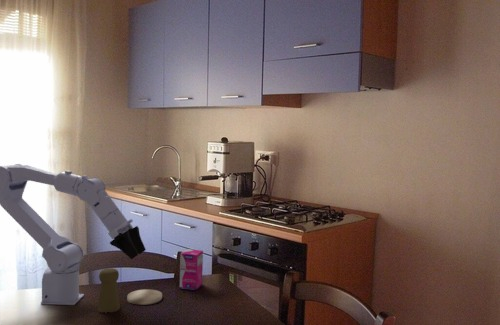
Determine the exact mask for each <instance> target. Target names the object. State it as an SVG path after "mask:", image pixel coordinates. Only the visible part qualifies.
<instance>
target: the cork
mask: <svg viewBox="0 0 500 325" xmlns="http://www.w3.org/2000/svg"><path fill="white" fill-rule="evenodd" d="M119 276H120V274H119V270H118V269H116V268H113V267H112V268H111V267H109V268H104V269H102V270H100V272H99V275H98V278H99V282H100V288H99V289H100V290H99V294H98V295H99V296H98V302H97V308H96V309H97V312H99V313H103V312H105V313H106V314H107V312H110V313H115V312H117V311H119V310H120V309H121V306H120V296H119V289H118V282H117V281H118V280H119ZM105 313H104V314H105Z"/></svg>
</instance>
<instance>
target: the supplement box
mask: <svg viewBox="0 0 500 325" xmlns="http://www.w3.org/2000/svg"><path fill="white" fill-rule="evenodd" d="M179 258H180V262H179V289H181V290H190V291H191V290H192V291H197V290H198V289H199V288H201V286H202V285H203V269H204V268H203V267H204V266H203V263H204V262H203V261H204V250H199V249H190V248H189V249H188V248H186V249H185V250H183V251H182V252H181V253H180V255H179Z"/></svg>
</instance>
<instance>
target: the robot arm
mask: <svg viewBox="0 0 500 325" xmlns="http://www.w3.org/2000/svg"><path fill="white" fill-rule="evenodd" d="M29 181H31V182H35V183H40V184H45V185H49V186H53V187H54V189H55V190H56V192H59V193H64V194H68V195H72V196H75V197H78V198H79V199H80V200H81V201H83V202H86V203H87V204H88V205H89V207H90V208H91V209H92V210H93V212H94V213H95V215H96V216H97V217H98V218H99V220H100V222H101V224H103V226H104V227H105V228H106V230H107V231H108V232H107V233H108V236H110V238H111V239H112V240H111V241H110V242H109V244H110V245H111V246H113V247H115V248H117V249H118V250H120V251H121V252H123V253H124V255H126V256H127V257H128V258H129V259H131V260H133V259H134V258H136V257H137V256H138V255H141V254H142V253H143V252H145V251H146V247H145V245H144V241H143V240H142V237H141V235H140V228H139V226H138V225H136V226H134V227H133V225H132V222H133V219H129V220H127V218H126V216H125V215H124V214H123V213H122V211H121V210H120V209H119V207H118V206H117V204H116V203H115V202H114V200H113V198H112V197H110V195H109V194H108V192H107V191H106V185H105V183H104V181H103V179H100V178H98V177H91V178H88V175H85V174H84V175H78V174H74V173H73V171H71V170H65V171H60V172H59V173H57V174H56V173H53V172H50V171H47V170H44V169H41V168H37V167H34V166H31V165H25V164H21V163H17V164H16V163H15V164H13V165H12V164H11V165H0V206H1V208H2V209H3V210H4V211H5V212H7V214H8V215H9V216H10V217H12V219H13V220H15V222H16V223H17V224H18V225H19V226H20V227H21V228H22V229H23V230H24V231H25V232H26V233H27V234H28V235H29V236H30V237H31V238H32V239H33V240H34V241H35V242H36V243H37V244H38V245H39V246H40V247H41V248H42V254H41V255H42V256H41V257H42V258H43V259H44V260H45V262H46V264H47V267H48V268H47V269H46V270H45V271H44V272H43V274H42V277H41V278H42V279H41V301H40V304H41V305H59V306H74V305H76V304H77V303H78V302H79V301H80V300H81V299H82V298H84V295H85V294H84V293H80V263H81V262H82V260H83V259H84V255H85V254H84V250H83V248H82V246H81V245H80V244H78V243H75V242H73V241H71V240H70V238H69V237H65V236H61V235H59V234H58V233H57V232H56V231H55V230H54V228H52V227H51V225H49V223H47V221H45V220H44V219H43V217H41V216H40V214H38V212H37V211H35V210H34V208H32V206H31V205H30V204H29V203H28V202H27V201H25V200H24V199H23V194H24V192H25V189H26V187H27V183H28V182H29Z"/></svg>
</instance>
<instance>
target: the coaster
mask: <svg viewBox="0 0 500 325" xmlns="http://www.w3.org/2000/svg"><path fill="white" fill-rule="evenodd" d="M126 297H127V298H126V299H127V300H126V301H127V302H128V303H130V304H133V305H140V306H141V305H142V306H145V305H146V306H147V305H152V304H156V303H159V302H160V301H162V299H163V292H161V291H159V290H156V289H149V288H148V289H147V288H146V289H145V288H144V289H138V290H134V291H131V292H128V294H127V296H126Z"/></svg>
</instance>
